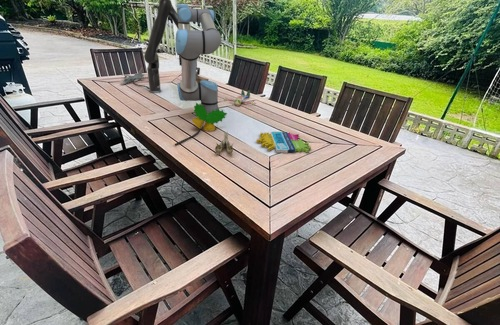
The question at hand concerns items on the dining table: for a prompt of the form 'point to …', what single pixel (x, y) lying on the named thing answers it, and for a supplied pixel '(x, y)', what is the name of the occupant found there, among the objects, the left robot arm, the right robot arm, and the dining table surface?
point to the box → (200, 79)
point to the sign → (283, 142)
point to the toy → (241, 99)
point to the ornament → (207, 117)
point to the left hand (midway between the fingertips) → (193, 80)
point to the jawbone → (224, 145)
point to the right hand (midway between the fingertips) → (186, 64)
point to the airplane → (134, 77)
